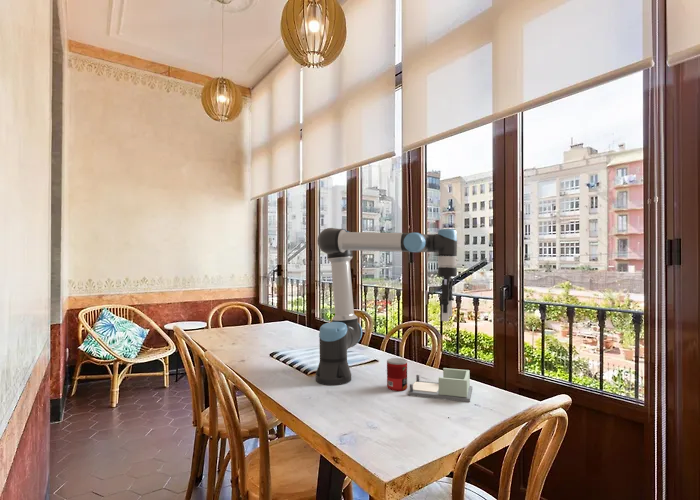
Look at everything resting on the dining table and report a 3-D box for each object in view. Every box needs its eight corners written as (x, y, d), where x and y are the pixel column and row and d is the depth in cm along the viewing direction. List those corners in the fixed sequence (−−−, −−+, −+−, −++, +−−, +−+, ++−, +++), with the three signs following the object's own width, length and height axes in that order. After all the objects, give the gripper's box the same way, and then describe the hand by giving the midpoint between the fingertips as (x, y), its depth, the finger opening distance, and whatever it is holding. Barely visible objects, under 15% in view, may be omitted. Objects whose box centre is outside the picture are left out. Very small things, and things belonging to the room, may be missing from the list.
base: (408, 395, 155) (408, 385, 155) (416, 383, 169) (416, 374, 169) (469, 402, 148) (469, 391, 148) (472, 389, 162) (472, 379, 162)
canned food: (406, 392, 159) (406, 363, 159) (386, 390, 160) (385, 362, 160) (408, 385, 166) (407, 358, 166) (388, 384, 168) (388, 357, 168)
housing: (438, 394, 152) (438, 377, 152) (443, 383, 165) (443, 368, 165) (466, 397, 148) (466, 380, 148) (469, 385, 162) (469, 370, 162)
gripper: (454, 267, 157) (453, 323, 157) (459, 266, 181) (458, 314, 180) (434, 267, 159) (433, 322, 159) (441, 265, 183) (441, 313, 183)
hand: (447, 318), depth 170 cm, fingers open, 13 cm apart
